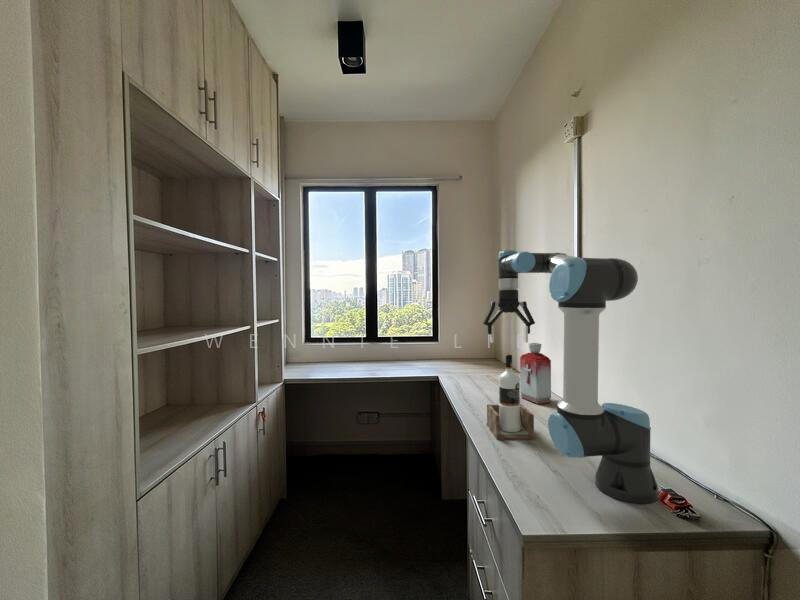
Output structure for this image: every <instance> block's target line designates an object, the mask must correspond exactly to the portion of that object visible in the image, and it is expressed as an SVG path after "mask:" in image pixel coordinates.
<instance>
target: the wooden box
mask: <svg viewBox="0 0 800 600" xmlns="http://www.w3.org/2000/svg"><path fill="white" fill-rule="evenodd" d="M486 414H487V415H486V417H487V419H486V421H487V423H486V426H487V428H488V427H489V428H488V429H489V431H490V432H491V434H492V435H493V436H494V438H495V439H496V440H497V441H501V440H502V441H507V440H508V441H510V440H511V441H513V440H515V441H516V440H519V441H522V440H536V438H535V437H536V436H535V418H534V416H535V415H534V414H533V413H532V412H531V411H530V410H528V408H526V407H525V406H524V405H523V404H521V403H520V419H521V424H522V428H521V430H520V431H518V432H505V431H502V430H500V424H499V404H487V406H486Z"/></svg>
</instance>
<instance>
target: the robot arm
mask: <svg viewBox="0 0 800 600" xmlns="http://www.w3.org/2000/svg"><path fill="white" fill-rule="evenodd" d="M497 258H498V259H497V261H498V263H497V264H498V265H497V266H498V289H499V290H498V301H497V302H496V301H491V302H490V305H489V306H490V308H489V309H488V312H487V313H486V316H485V318H483V319H484V320H483V322H482V324H483V325H485V326H486V327H487V334H488V335H489V341H490V343H491V344H494V343H495V336H494V335H495V333H494V332H495V331H494V329H495V327H494V326H493V325H494V324H495V322H496V321H497V320H498V318H500V316H501V315H502V314H503V313H504V314H505V313H506V314H507V313H511V314H512V313H514V314H515V315H517V316H518V318H519V319H520V320H521V321H522V323H523V324H524V325H523V342H524V343H529V335H530V334H531V326H532V325H535V324H536V321H535V320H534V318H533V316H532V314H531V312H530V310H529V307H528V306H527V305H528V304H527V301H526V300H523V301H519V290H518V289H519V274H540V273H541V274H551V275H550V278H549V287H548V288H549V293H550V296H551V298H552V299H553V300H554V301H555V302H557V303H558V305H557V307H558V309H559V310H560V311H562V313H563V315H564V316H563V374H562V375H563V378H562V379H563V380H562V381H563V382H562V383H563V386H562V387H563V388H562V393H563V395H562V399H561V400H559V401H558V402H557V403H556V412H552V413H550V415H549V416H548V419H547V427H548V432H549V436H550V438H551V441H552V443H553V445H554V446H555V448H556V449H557V451H558V452H559V453H560V454H561V455H562V456H564V457H567V458H579V459H582V458H587V457H588V458H589V457H600V456H601V458H600V461H599V464H598V466H597V469H596V472H595V474H594V475H595V477H594V478H595V479H594V483H595V485H596V488H597V489H598V490H600V491H601V492H602V493H604V494H605V495H607V496H609V497H612V498H614V499H617V500H619V501H623V502H627V503H633V504H652V503H654V502H657V500H658V499H659V486H658V484H657V481H656V478H655V476H654V472H653V469H652V465H651V430H652V428H651V423H650V422H651V420H650V416H649V414H648V413H647V412H645V411H643V410H641V409H639V408H636V407H634V406H631V405H630V406H629V405H626V404H622V403H621V404H620V403H613V402H604V403H602V404H600V403H599V353H600V351H599V350H600V349H599V348H600V347H599V344H600V343H599V342H600V314H601V313H602V312H604V311H605V310H606V309H607V305H606V303H607V302H609V301H610V302H611V301H612V302H613V301H618V300H621V299H624V298H626V297H628V296H629V295H631V293H633V291H634V290H635V289H636V287H637V286H638V285H637V284H638V282H639V281H638V280H639V279H638V277H639V276H638V271H637V269H636V268H635V267H634V266H633V264H631V262H628V261H627V260H625V259H621V258H615V257H614V258H613V257H612V258H610V257H609V258H604V257H603V258H600V257H599V258H597V257H593V258H592V257H578V256H573V255H568V254H567V253H562V252H530V251H517V250H514V249H512V250H511V249H509V250H507V249H506V250H501V251H499V253H498V257H497ZM497 307H498V310H497V311H496V313H495V314H494V315H493V313H494V311H495V308H497ZM519 307H521V308H522V310H523V312H524V314H525V316H526V317H525V316H524V314H523V313H522V312H521V310H519ZM492 315H493V317H492ZM491 317H492V318H491Z"/></svg>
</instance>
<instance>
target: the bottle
mask: <svg viewBox="0 0 800 600" xmlns="http://www.w3.org/2000/svg"><path fill="white" fill-rule="evenodd" d="M528 349H529V352H527V353H524V354H522V355H521V356H520V357H519V358H520V359H519V360H520V362H519V363H520V365H519V370H520V372H519V374H520V375H519V377H520V397H521V398H522V399H523V398H524V400H527V401H529V402H531V403H533V404H536V405H545V404H550V403H551V402H552V401H551V399H552V360H551V359H550V357H548V356H546V355H545V354H543V353H541V349H542V344H541V343H540V342H528Z"/></svg>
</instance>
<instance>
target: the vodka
mask: <svg viewBox="0 0 800 600" xmlns="http://www.w3.org/2000/svg"><path fill="white" fill-rule="evenodd" d="M497 378H498V393H499V394H498V398H499V399H498V400H499V402H498V405H499V424H500V430H502V431H505V432H518V431H520V430H521V428H522V424H521V419H520V404H521V402H520V401H521V398H520V397H521V392H520V375H518V374H517V373H516V372H515V371H513V355H512V354H505V370H504V371H503V372H502V373H500V374H499V376H498V377H497Z"/></svg>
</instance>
